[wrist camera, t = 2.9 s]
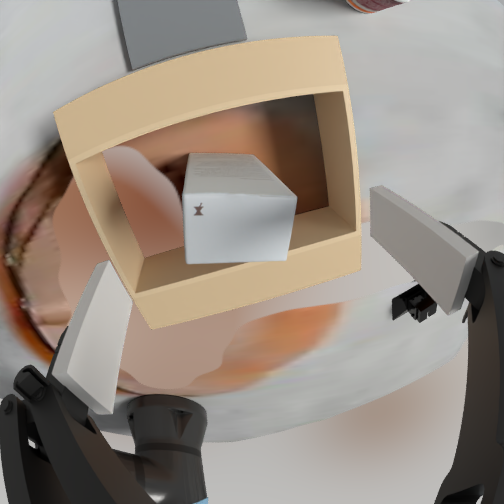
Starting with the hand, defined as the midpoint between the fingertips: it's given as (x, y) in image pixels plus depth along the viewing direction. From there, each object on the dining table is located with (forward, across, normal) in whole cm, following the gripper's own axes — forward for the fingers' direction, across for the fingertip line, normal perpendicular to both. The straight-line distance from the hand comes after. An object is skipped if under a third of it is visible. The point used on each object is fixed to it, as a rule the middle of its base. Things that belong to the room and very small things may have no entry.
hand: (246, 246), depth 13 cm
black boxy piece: (+15, +25, -26) cm, 39 cm away
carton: (+14, 0, 0) cm, 14 cm away
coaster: (+14, 0, +17) cm, 22 cm away
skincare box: (+14, 0, 0) cm, 14 cm away
